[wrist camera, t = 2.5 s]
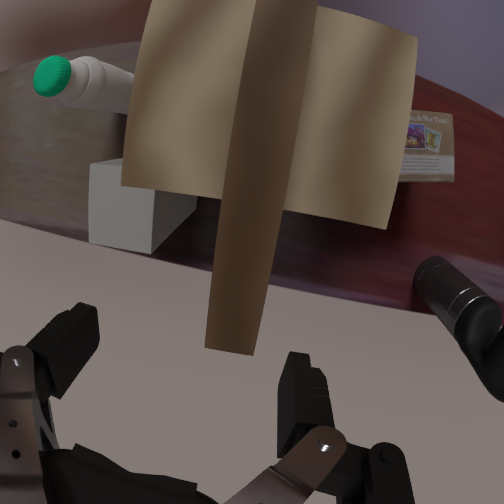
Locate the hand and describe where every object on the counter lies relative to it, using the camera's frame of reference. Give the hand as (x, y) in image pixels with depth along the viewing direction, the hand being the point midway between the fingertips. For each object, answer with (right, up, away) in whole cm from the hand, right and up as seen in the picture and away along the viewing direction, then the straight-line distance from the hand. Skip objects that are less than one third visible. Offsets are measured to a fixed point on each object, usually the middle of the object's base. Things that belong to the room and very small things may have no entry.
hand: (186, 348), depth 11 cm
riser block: (-10, +16, +39) cm, 43 cm away
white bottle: (-18, +31, +34) cm, 49 cm away
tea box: (+23, +22, +35) cm, 48 cm away
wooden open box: (+5, +24, +35) cm, 43 cm away
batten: (+3, +9, +7) cm, 11 cm away
